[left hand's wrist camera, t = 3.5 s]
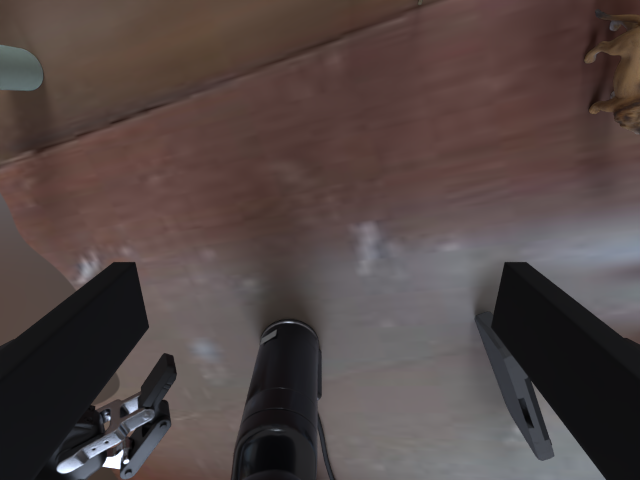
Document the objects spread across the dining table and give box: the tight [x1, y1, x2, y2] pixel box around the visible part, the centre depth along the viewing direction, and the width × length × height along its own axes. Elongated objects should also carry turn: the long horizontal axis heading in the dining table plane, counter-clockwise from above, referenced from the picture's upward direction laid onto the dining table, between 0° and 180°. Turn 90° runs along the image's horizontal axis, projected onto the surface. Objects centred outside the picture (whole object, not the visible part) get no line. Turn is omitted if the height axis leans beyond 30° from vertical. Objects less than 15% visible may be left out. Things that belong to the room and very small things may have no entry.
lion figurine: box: [584, 9, 640, 134], centre depth 38 cm, size 15×5×9 cm, turn 27°
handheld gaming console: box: [475, 312, 554, 461], centre depth 53 cm, size 23×3×10 cm, turn 25°
